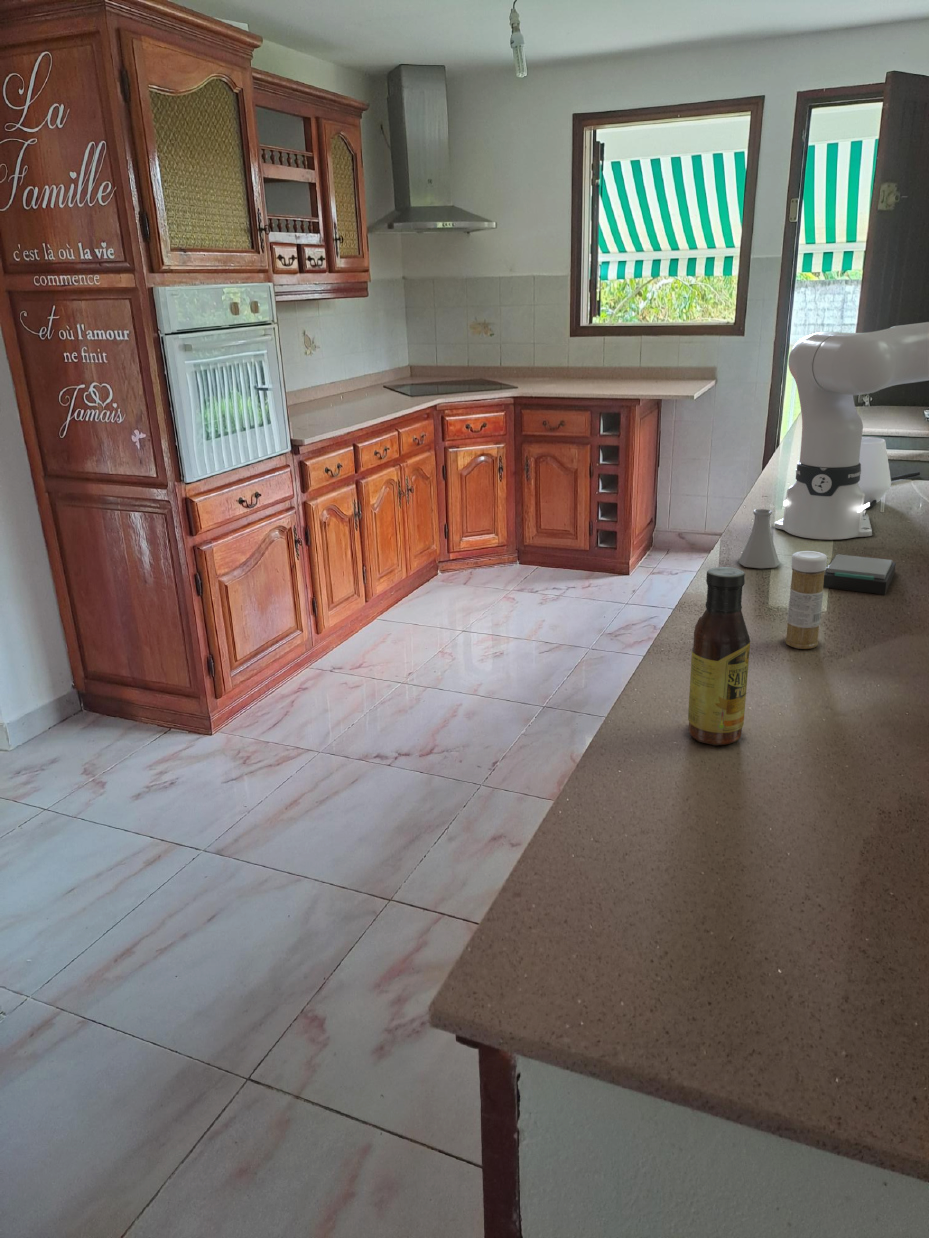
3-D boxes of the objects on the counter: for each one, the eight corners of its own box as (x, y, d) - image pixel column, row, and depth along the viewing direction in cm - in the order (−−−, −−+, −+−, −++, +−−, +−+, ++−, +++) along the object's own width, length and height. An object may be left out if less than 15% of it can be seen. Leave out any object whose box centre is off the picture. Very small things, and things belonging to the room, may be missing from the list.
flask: (781, 570, 158) (786, 516, 155) (739, 569, 160) (743, 515, 156) (776, 558, 165) (781, 506, 161) (736, 558, 166) (740, 506, 163)
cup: (893, 496, 206) (901, 436, 201) (884, 508, 196) (892, 446, 191) (832, 491, 213) (838, 433, 208) (820, 503, 202) (826, 442, 198)
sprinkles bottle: (801, 636, 129) (809, 548, 124) (825, 646, 125) (835, 555, 121) (777, 642, 127) (785, 553, 123) (801, 652, 123) (810, 561, 119)
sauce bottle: (733, 753, 98) (745, 584, 91) (679, 740, 102) (687, 577, 95) (749, 728, 103) (762, 567, 97) (697, 717, 107) (706, 560, 100)
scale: (833, 567, 158) (835, 551, 157) (894, 574, 153) (896, 557, 152) (820, 587, 149) (822, 570, 148) (884, 594, 144) (887, 577, 143)
